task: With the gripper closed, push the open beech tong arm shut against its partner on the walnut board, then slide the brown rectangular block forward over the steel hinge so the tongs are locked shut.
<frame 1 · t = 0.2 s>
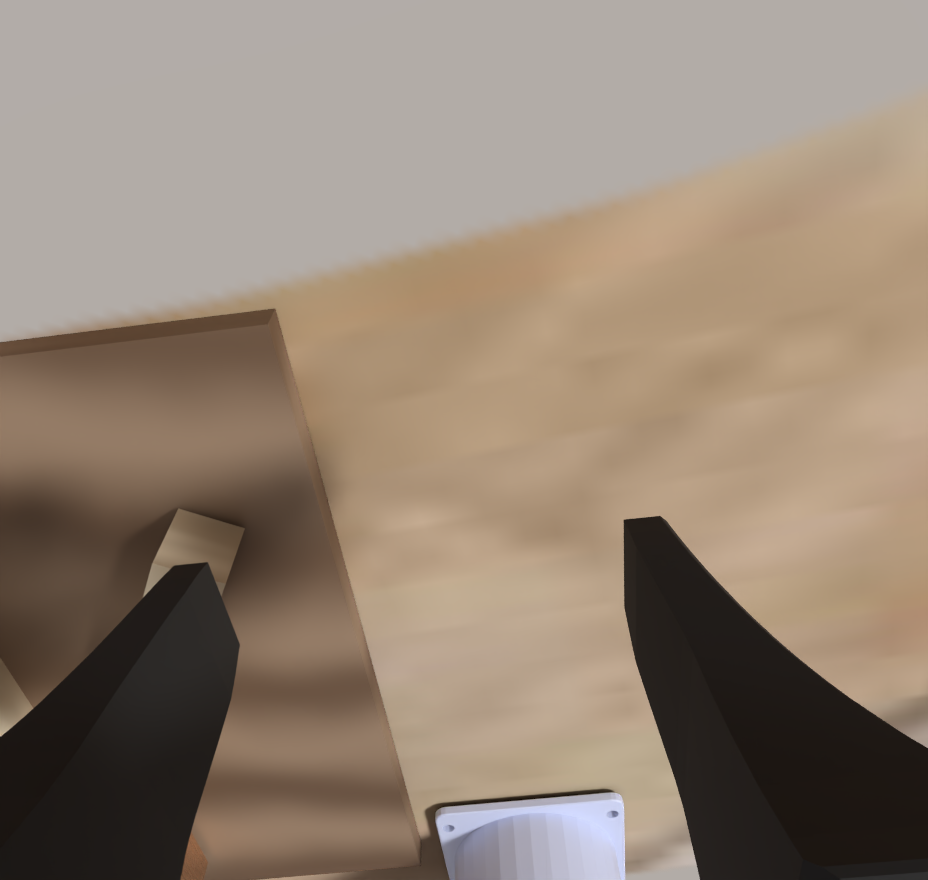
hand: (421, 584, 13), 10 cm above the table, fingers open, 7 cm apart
tongs base: (123, 667, 28), on the table
tong arm: (156, 686, 25), point 2 cm above the table, hinge at 30.0°
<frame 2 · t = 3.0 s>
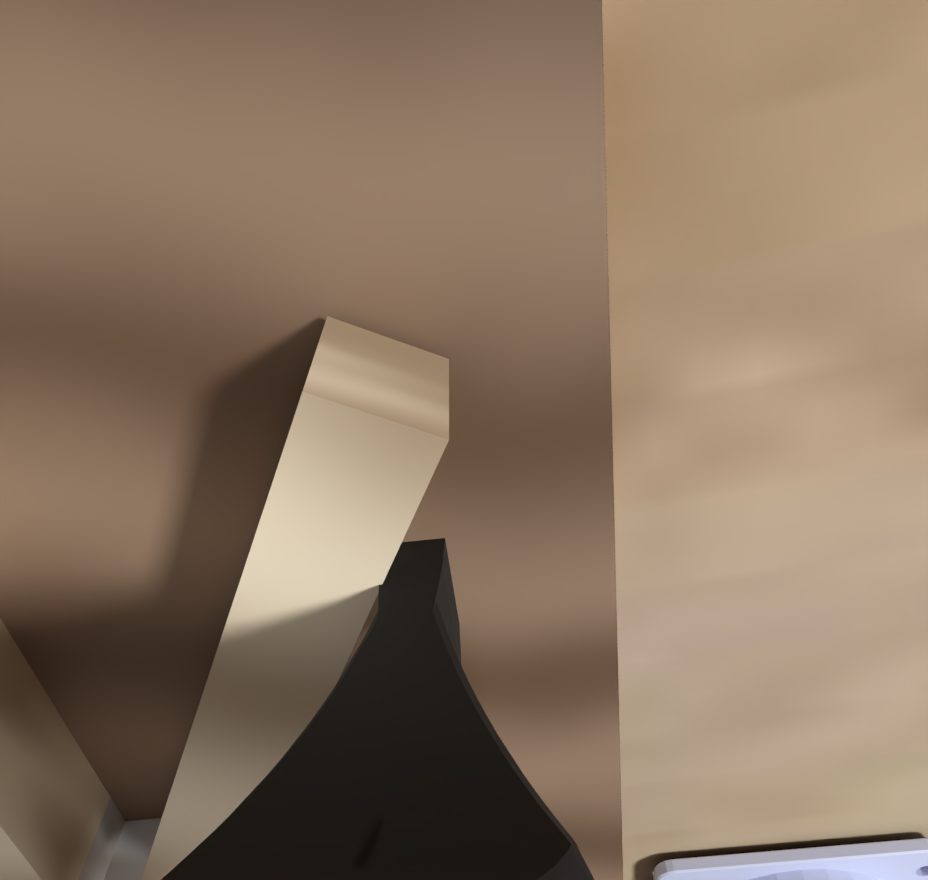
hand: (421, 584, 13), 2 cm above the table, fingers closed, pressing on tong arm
tongs base: (204, 642, 17), on the table
tong arm: (270, 666, 14), point 2 cm above the table, hinge at 28.8°, touching gripper
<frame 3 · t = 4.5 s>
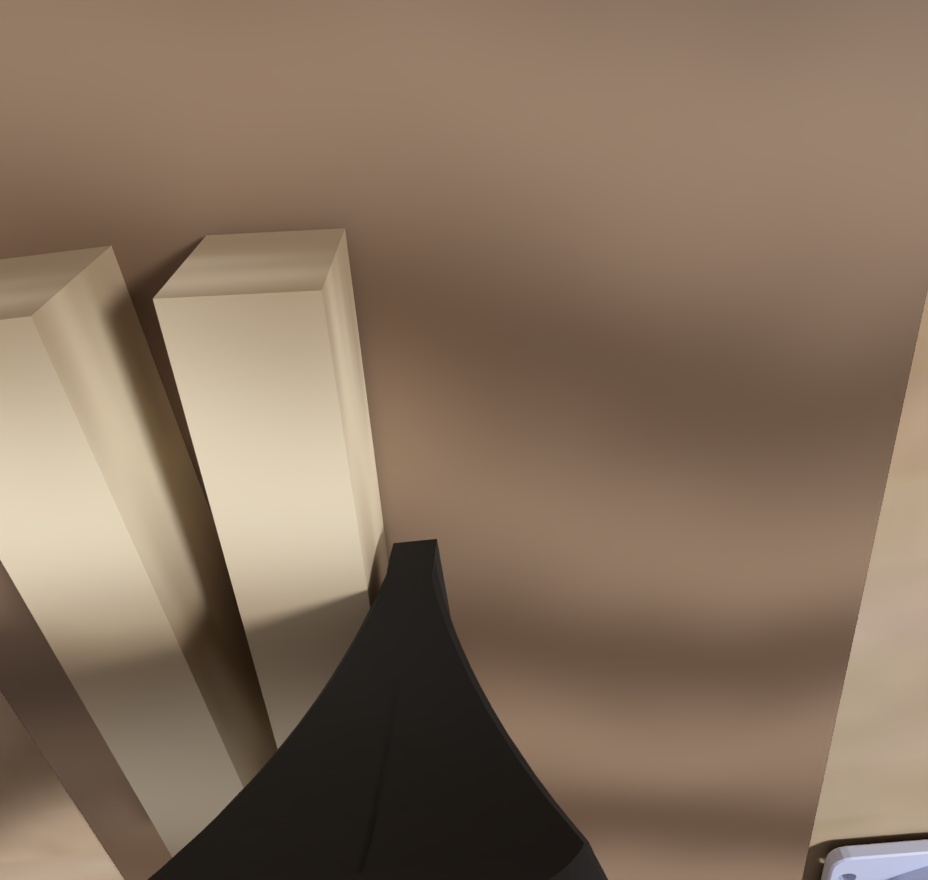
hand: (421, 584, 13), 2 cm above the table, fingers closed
tongs base: (420, 620, 17), on the table
tong arm: (327, 618, 14), point 2 cm above the table, hinge at 4.1°, touching gripper
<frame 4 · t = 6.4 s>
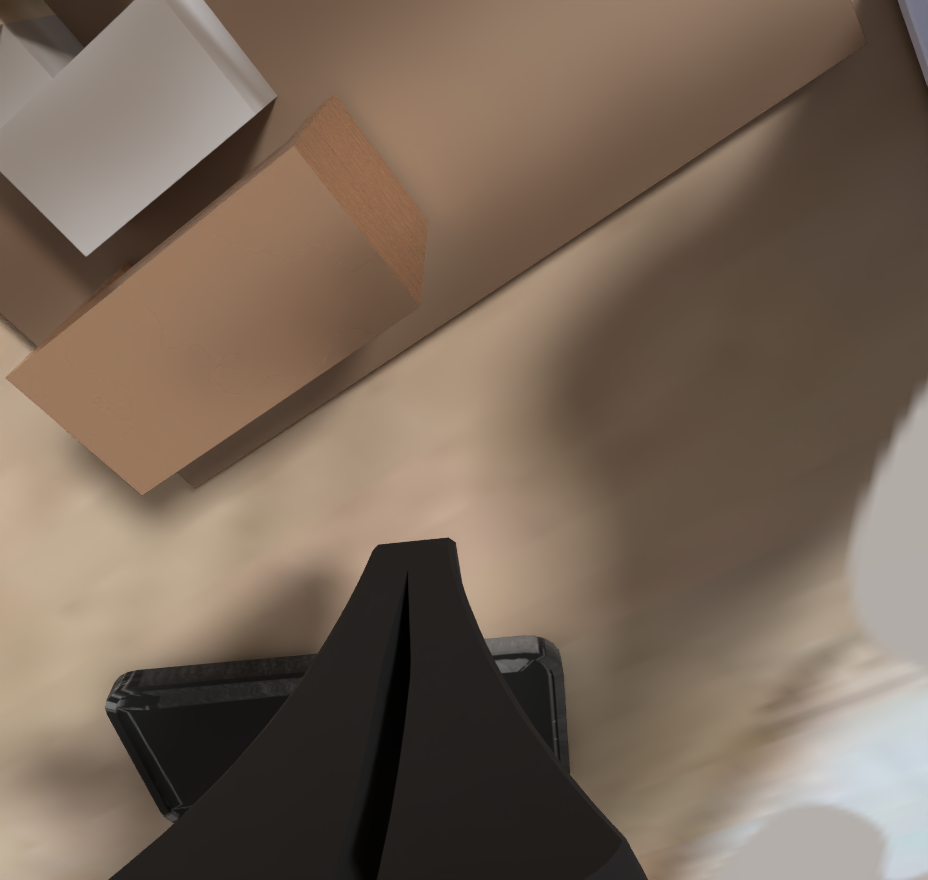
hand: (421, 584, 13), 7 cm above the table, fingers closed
brown rectangular block: (240, 290, 15), point 4 cm above the table, slide at 0.0 cm
phone: (352, 717, 28), on the table
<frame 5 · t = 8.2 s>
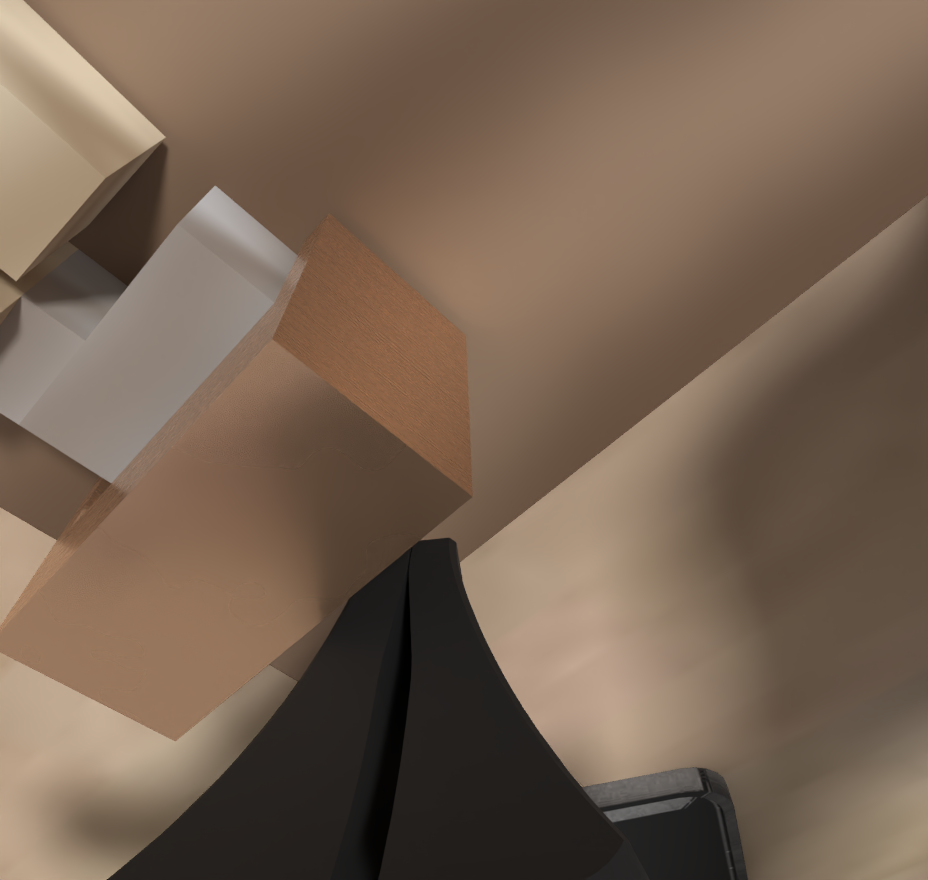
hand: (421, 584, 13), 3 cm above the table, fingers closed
brown rectangular block: (253, 473, 12), point 4 cm above the table, slide at 1.5 cm, touching gripper
phone: (501, 860, 25), on the table
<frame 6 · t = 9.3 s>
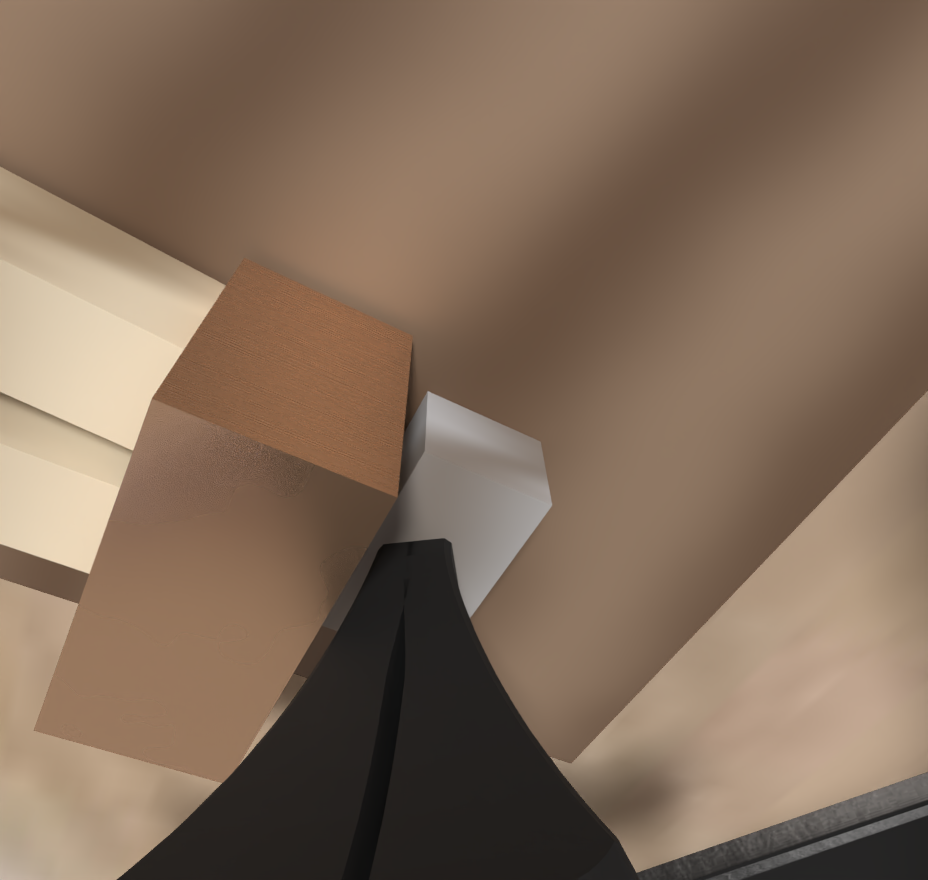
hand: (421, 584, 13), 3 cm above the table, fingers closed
tongs base: (200, 215, 13), on the table
brown rectangular block: (235, 520, 12), point 4 cm above the table, slide at 6.8 cm, touching gripper
phone: (777, 876, 26), on the table
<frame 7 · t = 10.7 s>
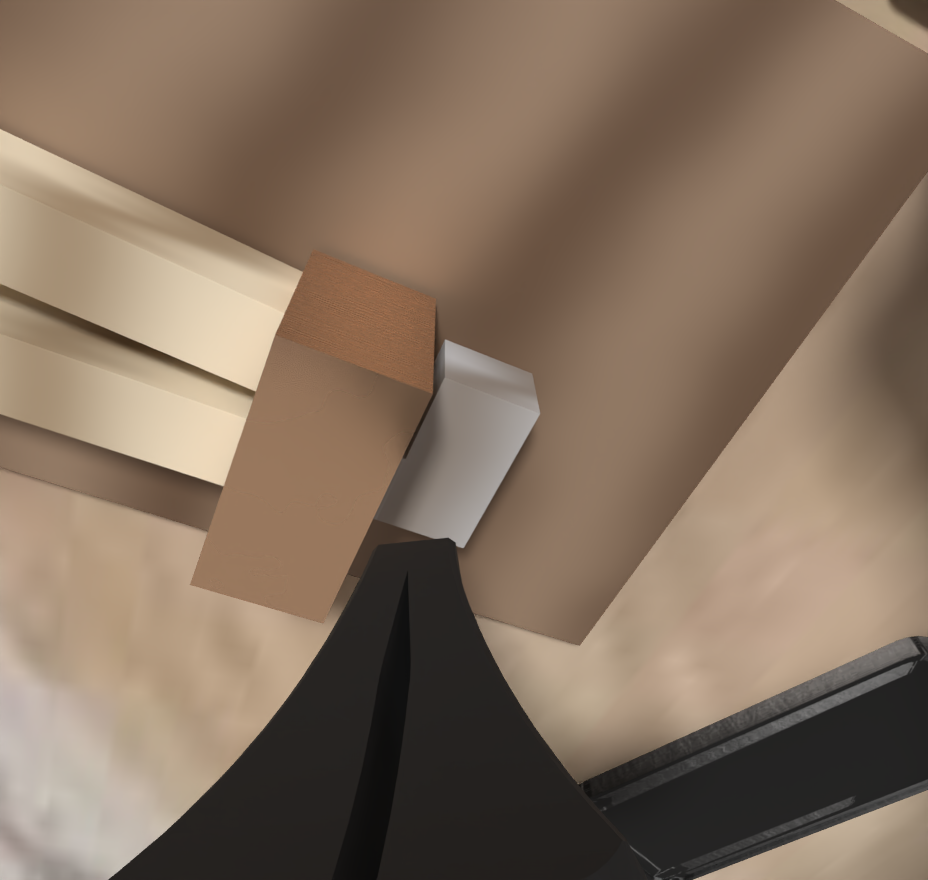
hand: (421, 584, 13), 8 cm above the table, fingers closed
tongs base: (272, 220, 18), on the table
tong arm: (111, 254, 16), point 2 cm above the table, hinge at 4.0°
brown rectangular block: (318, 435, 17), point 4 cm above the table, slide at 6.7 cm
phone: (769, 755, 31), on the table
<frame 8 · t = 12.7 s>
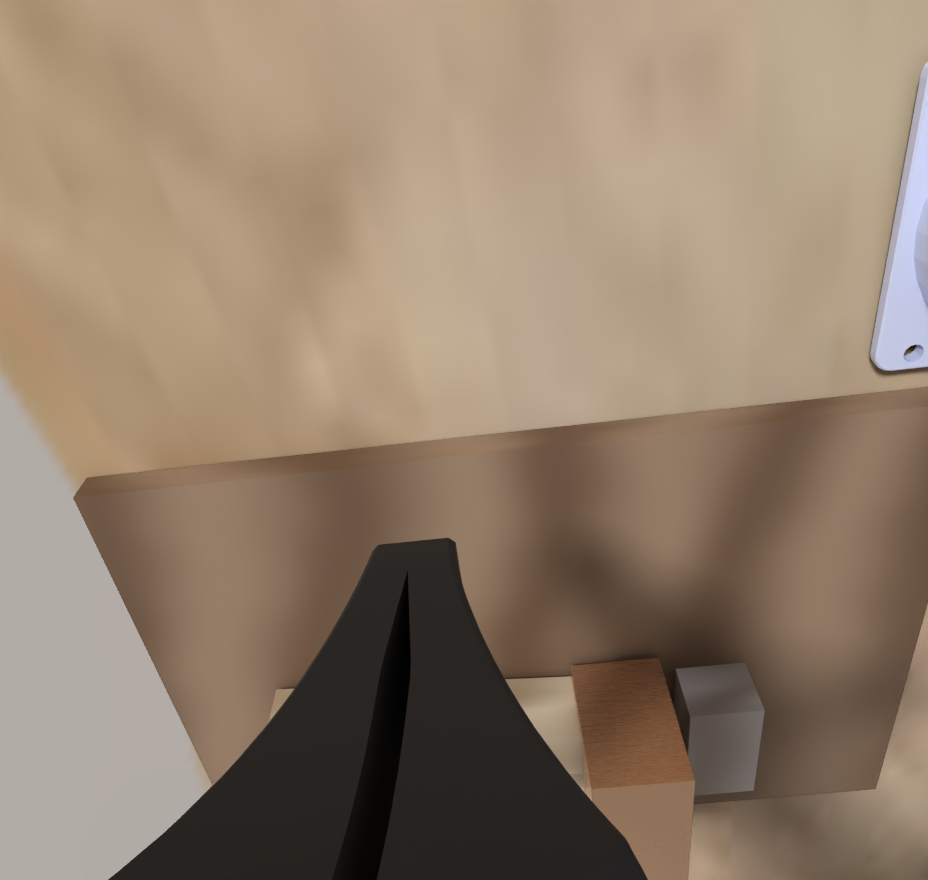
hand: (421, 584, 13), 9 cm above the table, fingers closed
tongs base: (534, 644, 28), on the table
tong arm: (464, 729, 26), point 2 cm above the table, hinge at 4.0°
brown rectangular block: (628, 779, 26), point 4 cm above the table, slide at 6.7 cm
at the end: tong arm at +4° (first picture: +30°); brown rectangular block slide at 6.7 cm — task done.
